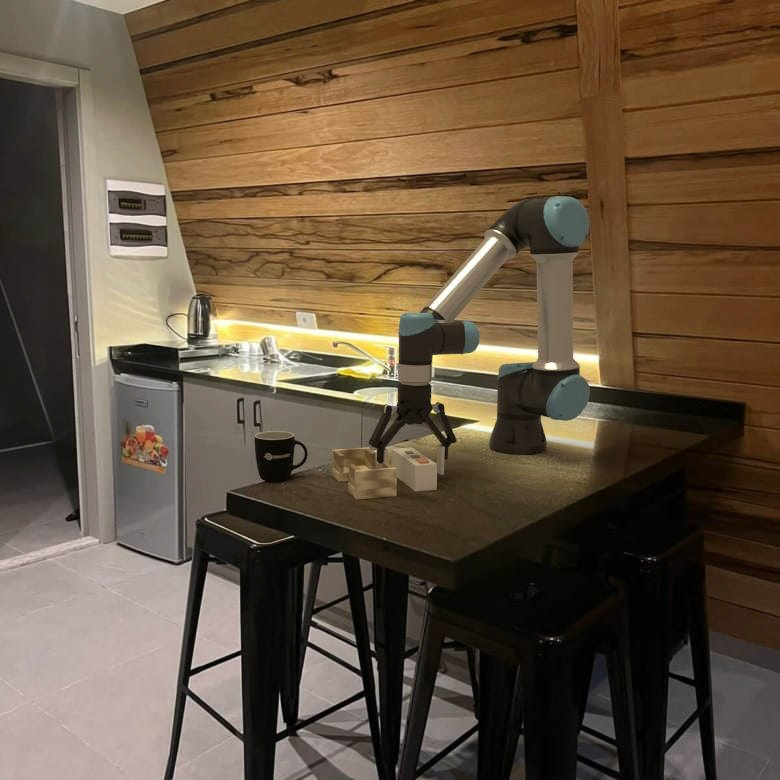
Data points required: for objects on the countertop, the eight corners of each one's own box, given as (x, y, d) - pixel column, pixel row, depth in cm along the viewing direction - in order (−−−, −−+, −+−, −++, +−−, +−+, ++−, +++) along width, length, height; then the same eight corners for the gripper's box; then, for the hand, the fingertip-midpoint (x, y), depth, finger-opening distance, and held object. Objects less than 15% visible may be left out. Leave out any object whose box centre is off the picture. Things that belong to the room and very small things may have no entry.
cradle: (368, 472, 188) (368, 447, 187) (396, 495, 169) (396, 468, 168) (331, 475, 185) (331, 449, 184) (355, 499, 166) (355, 471, 165)
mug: (257, 485, 176) (257, 440, 175) (253, 474, 185) (252, 431, 183) (311, 481, 180) (311, 437, 178) (304, 471, 188) (303, 429, 186)
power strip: (411, 472, 189) (411, 445, 188) (436, 490, 174) (437, 461, 173) (391, 473, 188) (391, 446, 186) (415, 492, 173) (415, 463, 172)
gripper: (459, 378, 185) (456, 467, 188) (356, 381, 177) (354, 474, 180) (473, 383, 178) (469, 475, 181) (365, 386, 170) (364, 483, 173)
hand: (412, 475), depth 180 cm, fingers open, 13 cm apart
